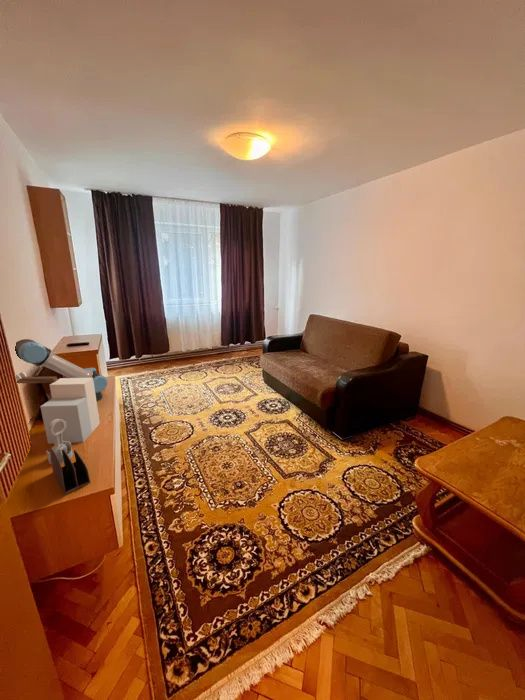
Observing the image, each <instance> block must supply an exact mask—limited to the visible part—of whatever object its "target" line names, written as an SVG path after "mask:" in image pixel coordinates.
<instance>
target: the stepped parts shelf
mask: <svg viewBox="0 0 525 700" xmlns="http://www.w3.org/2000/svg"><path fill="white" fill-rule="evenodd" d="M49 390H50V395H51V398H50V399H49V400H47V401H46V402H45V403H43V404H41V405H40V406H39V407H40V411H41V416H42V421H43V427H44V430H45V435H46V440H47V444H49V445H50V444H54V436H52V435H50V436H48V431H47V429H48V427H49V425H50V423H51V422H52V421H53V420H55V419H62V420H64V421H66V428H65V430H64V432H63V433H62V438H63V441H69V442H71V444H72V443H84V442H85V440H87V438H89V436H90V435H91V434H92V433H93V432H94V431H95V429H97V427H98V426H99V425H100V424H101V422H100V416H99V410H98V408H99V407H98V401H96V394H95V388H94V381H93V378H69V377H63V378H62V377H60V378H57V381H56V382H54V383H50V384H49ZM60 428H61V423H60V422H57V423H56V424H55V425H54V427H53V432H54V433H57V432H58V431H59V430H60Z"/></svg>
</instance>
